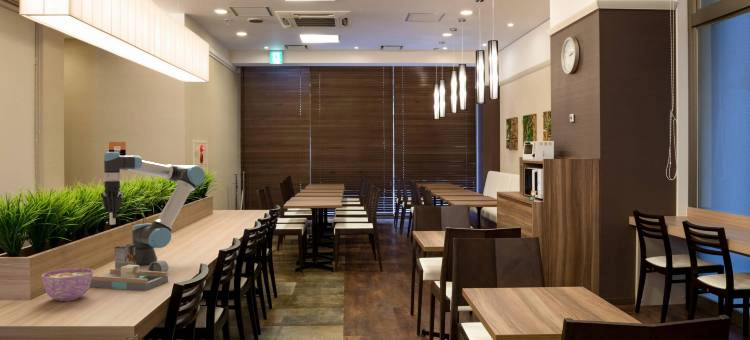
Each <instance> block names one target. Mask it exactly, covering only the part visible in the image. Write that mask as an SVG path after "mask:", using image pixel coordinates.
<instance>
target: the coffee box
mask: <svg viewBox="0 0 750 340" xmlns="http://www.w3.org/2000/svg"><path fill="white" fill-rule="evenodd" d="M126 265H136V245H133V244H129V243H128V244H126V243H125V244H121V245H118V246H114V269H121V267H123V266H126Z"/></svg>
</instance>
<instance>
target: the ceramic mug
mask: <svg viewBox="0 0 750 340" xmlns="http://www.w3.org/2000/svg"><path fill="white" fill-rule="evenodd" d="M168 270H169V264H168V263H167V262H166V261H164V260H157V262H153V263H151V264H148V267H147V271H156V272H167V273H168Z"/></svg>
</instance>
